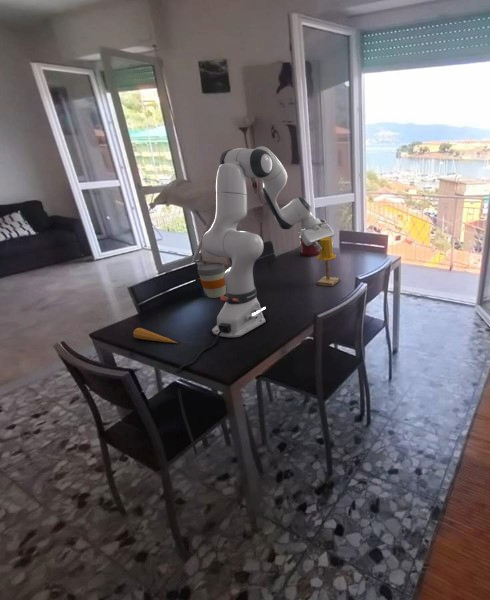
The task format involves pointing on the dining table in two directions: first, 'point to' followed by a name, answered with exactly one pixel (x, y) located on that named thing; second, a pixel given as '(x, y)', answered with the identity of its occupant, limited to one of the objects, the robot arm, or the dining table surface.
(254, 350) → the dining table surface
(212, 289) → the reusable coffee cup
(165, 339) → the carrot
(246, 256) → the robot arm
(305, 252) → the kitchen canister
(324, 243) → the hat
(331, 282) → the hat peg
